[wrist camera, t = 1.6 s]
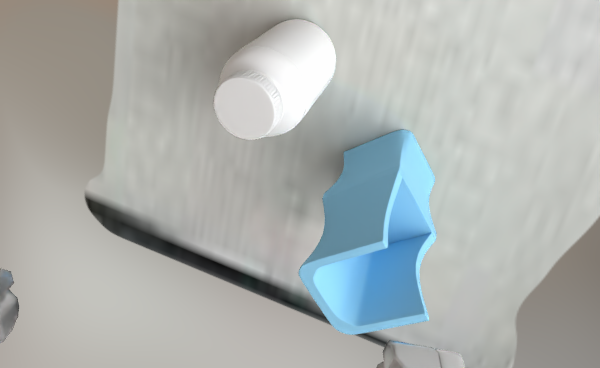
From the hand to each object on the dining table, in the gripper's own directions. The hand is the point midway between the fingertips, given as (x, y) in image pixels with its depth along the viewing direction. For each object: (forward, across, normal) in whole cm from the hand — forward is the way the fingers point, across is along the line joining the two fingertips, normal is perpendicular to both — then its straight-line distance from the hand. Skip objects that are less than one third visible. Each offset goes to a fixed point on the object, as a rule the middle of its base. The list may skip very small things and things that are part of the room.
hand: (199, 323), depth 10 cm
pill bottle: (+41, 0, +6) cm, 41 cm away
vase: (+39, -12, +16) cm, 44 cm away
